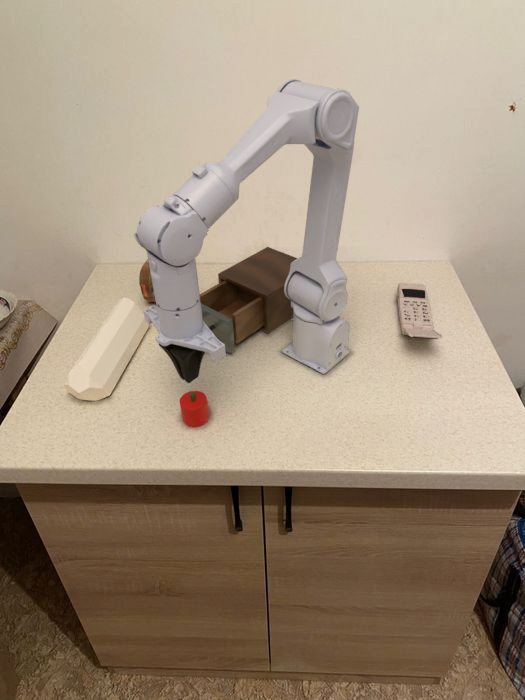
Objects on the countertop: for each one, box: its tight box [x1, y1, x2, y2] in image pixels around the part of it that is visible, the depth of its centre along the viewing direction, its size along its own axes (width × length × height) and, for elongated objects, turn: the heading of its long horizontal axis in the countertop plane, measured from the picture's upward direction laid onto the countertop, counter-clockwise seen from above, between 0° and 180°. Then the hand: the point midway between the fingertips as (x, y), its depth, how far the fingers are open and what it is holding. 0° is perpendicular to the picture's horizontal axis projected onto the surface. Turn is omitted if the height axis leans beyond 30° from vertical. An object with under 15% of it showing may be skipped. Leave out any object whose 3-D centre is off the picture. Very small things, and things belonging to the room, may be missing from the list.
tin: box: [138, 258, 156, 303], centre depth 107 cm, size 15×3×8 cm, turn 168°
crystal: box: [63, 296, 150, 402], centre depth 89 cm, size 7×7×24 cm
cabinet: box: [217, 246, 299, 335], centre depth 101 cm, size 15×13×9 cm
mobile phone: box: [396, 282, 443, 340], centre depth 96 cm, size 6×6×25 cm
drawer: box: [199, 280, 265, 354], centre depth 94 cm, size 18×11×7 cm, turn 138°
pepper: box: [179, 390, 210, 428], centre depth 78 cm, size 4×4×5 cm
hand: (189, 377), depth 74 cm, fingers closed
